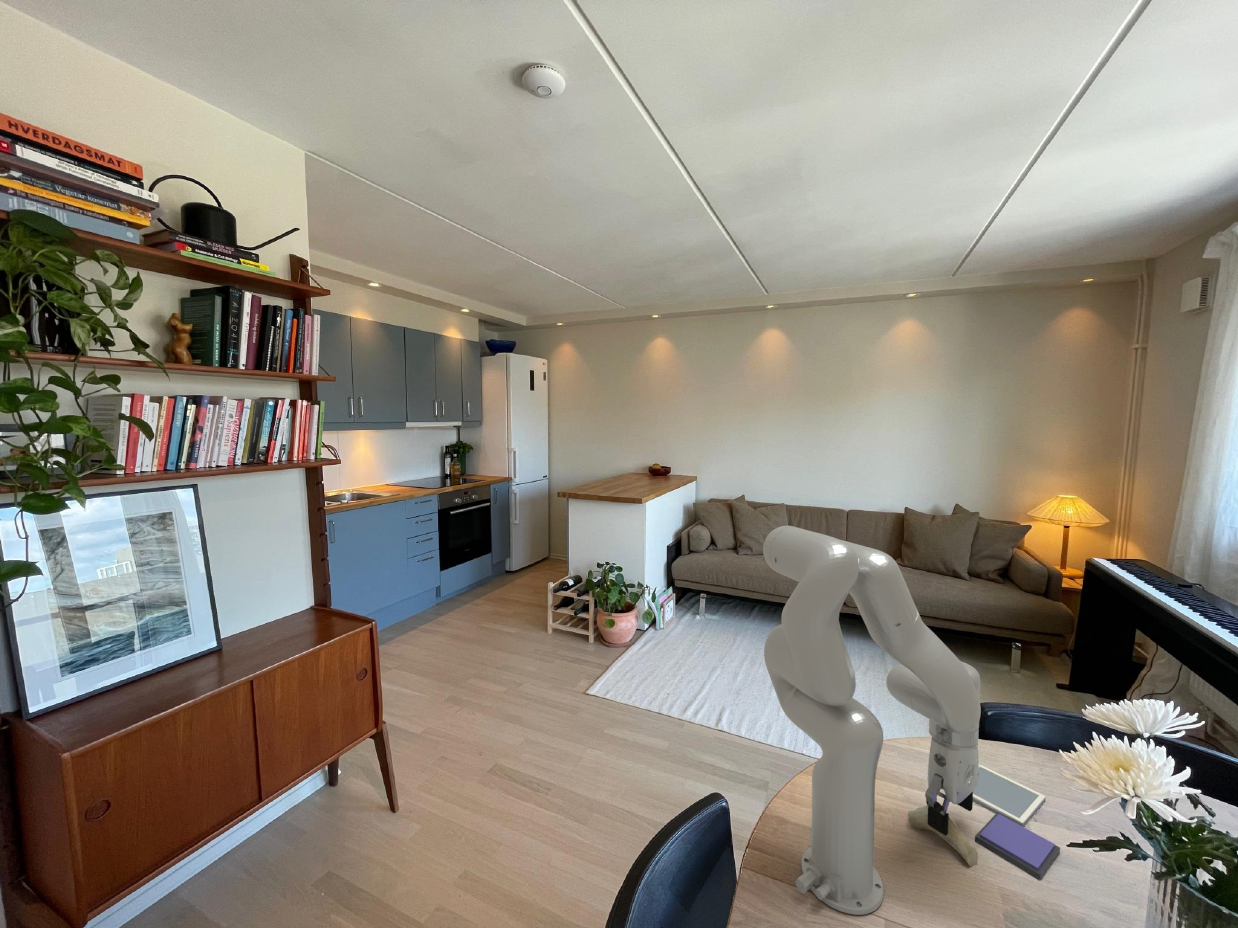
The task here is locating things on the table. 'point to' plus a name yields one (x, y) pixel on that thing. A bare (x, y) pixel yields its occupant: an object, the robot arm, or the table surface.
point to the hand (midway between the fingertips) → (950, 817)
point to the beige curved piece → (953, 837)
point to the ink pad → (1018, 845)
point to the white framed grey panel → (1006, 796)
